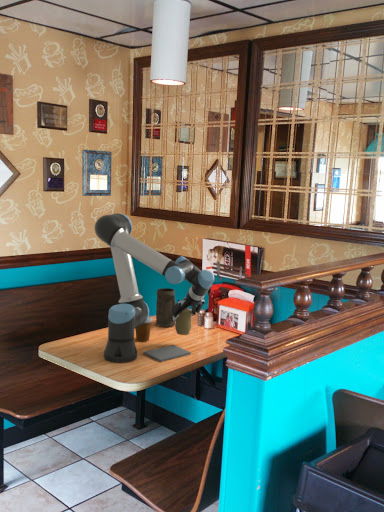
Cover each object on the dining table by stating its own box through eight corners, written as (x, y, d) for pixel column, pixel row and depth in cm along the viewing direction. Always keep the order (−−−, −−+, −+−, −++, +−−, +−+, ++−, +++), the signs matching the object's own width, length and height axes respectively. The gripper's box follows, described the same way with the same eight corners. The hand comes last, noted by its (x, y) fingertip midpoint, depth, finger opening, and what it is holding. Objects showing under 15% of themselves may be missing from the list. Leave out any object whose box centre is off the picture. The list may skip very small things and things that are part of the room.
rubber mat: (160, 362, 237) (160, 359, 237) (143, 353, 247) (143, 351, 247) (190, 354, 249) (190, 352, 249) (172, 346, 259) (172, 344, 259)
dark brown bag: (151, 323, 295) (152, 288, 292) (165, 320, 302) (167, 286, 299) (168, 330, 284) (170, 294, 281) (183, 327, 291) (185, 292, 288)
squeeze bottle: (189, 336, 256) (191, 300, 254) (172, 335, 258) (174, 298, 255) (192, 332, 264) (194, 296, 261) (176, 330, 266) (178, 295, 263)
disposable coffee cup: (143, 344, 260) (144, 320, 258) (129, 339, 266) (129, 316, 264) (156, 339, 268) (156, 316, 266) (142, 335, 273) (142, 313, 272)
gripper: (178, 302, 240) (164, 327, 257) (216, 300, 248) (200, 324, 265) (174, 288, 244) (160, 313, 261) (212, 286, 252) (196, 311, 269)
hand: (180, 318), depth 263 cm, fingers closed on squeeze bottle, 6 cm apart
